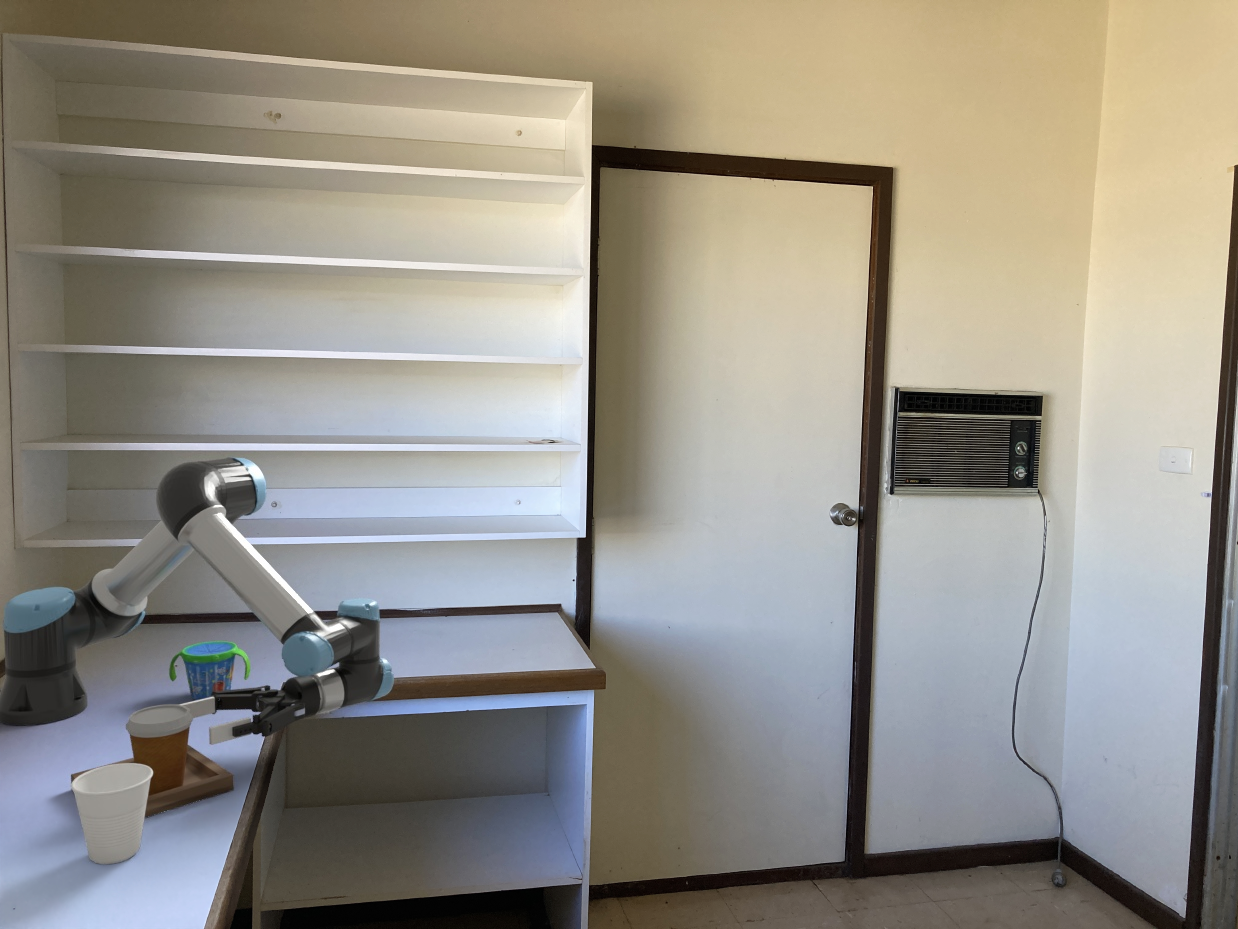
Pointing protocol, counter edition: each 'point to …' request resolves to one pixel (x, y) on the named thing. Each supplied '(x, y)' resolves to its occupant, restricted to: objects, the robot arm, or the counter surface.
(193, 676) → the snack cup
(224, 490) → the robot arm
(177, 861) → the counter surface
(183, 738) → the disposable coffee cup
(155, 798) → the tray
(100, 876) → the counter surface
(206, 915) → the counter surface
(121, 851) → the cup
